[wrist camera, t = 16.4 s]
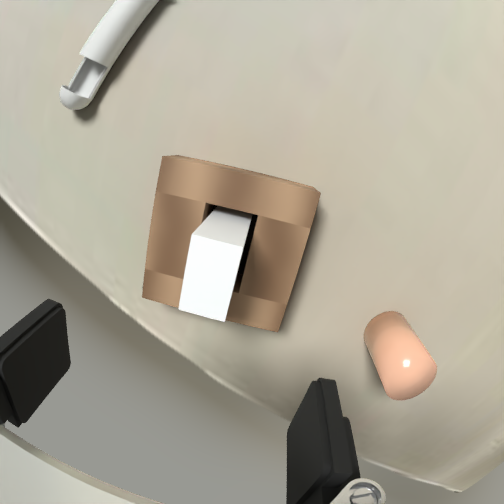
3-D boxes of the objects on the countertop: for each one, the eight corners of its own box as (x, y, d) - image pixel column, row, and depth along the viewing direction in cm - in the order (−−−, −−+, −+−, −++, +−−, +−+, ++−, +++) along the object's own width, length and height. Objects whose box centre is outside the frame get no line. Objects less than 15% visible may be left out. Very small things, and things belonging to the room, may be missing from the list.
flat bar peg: (252, 212, 27) (243, 247, 18) (239, 265, 29) (224, 321, 19) (219, 204, 27) (191, 234, 17) (207, 257, 29) (178, 309, 19)
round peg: (414, 315, 29) (446, 359, 22) (395, 353, 31) (419, 401, 23) (374, 307, 29) (401, 353, 22) (356, 347, 31) (375, 398, 23)
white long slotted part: (95, 119, 25) (55, 115, 19) (65, 101, 25) (24, 95, 18) (199, -29, 20) (182, -64, 14) (162, -40, 19) (141, -72, 13)
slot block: (313, 187, 26) (320, 193, 22) (277, 309, 30) (277, 332, 26) (177, 155, 26) (162, 156, 22) (156, 279, 30) (142, 297, 26)
